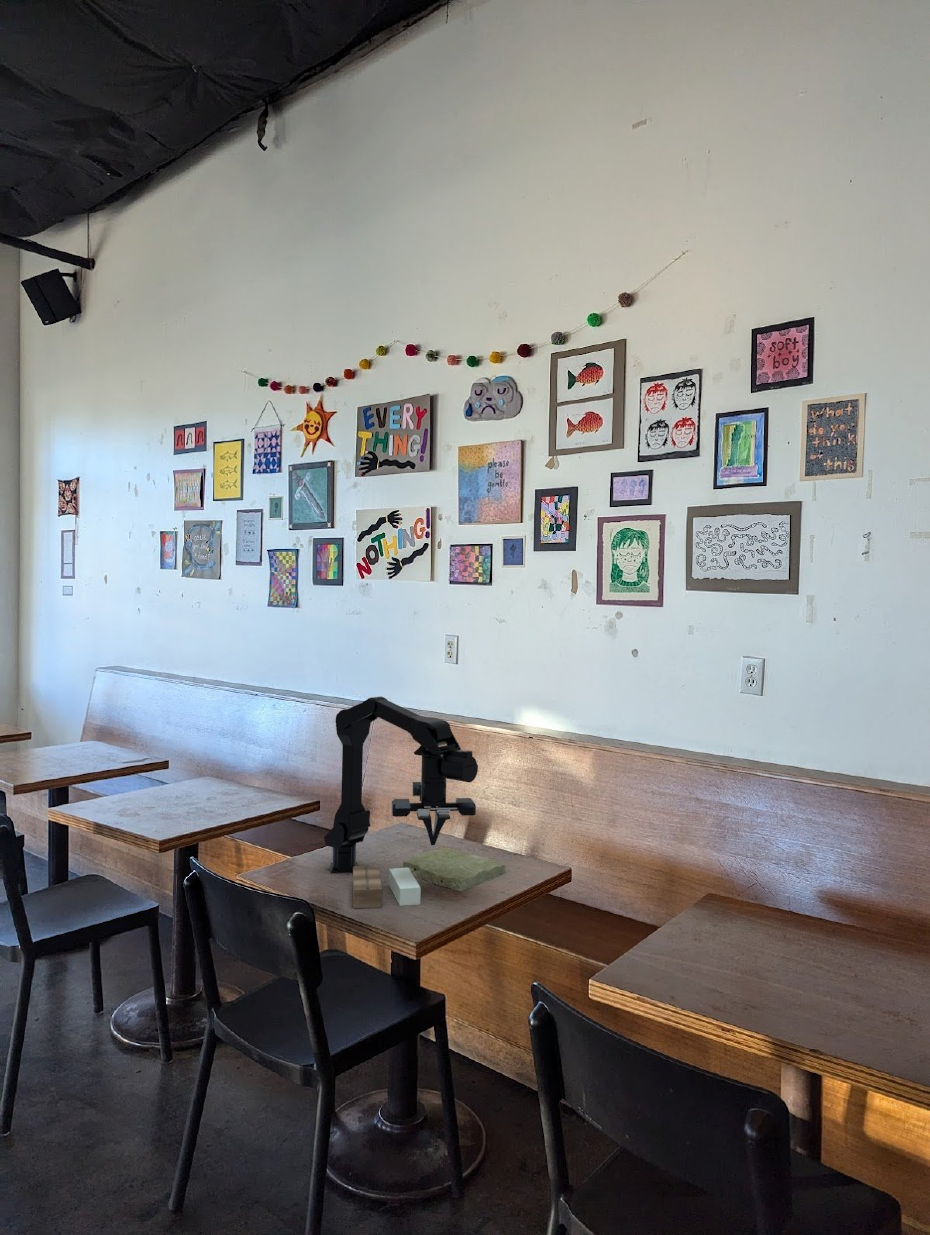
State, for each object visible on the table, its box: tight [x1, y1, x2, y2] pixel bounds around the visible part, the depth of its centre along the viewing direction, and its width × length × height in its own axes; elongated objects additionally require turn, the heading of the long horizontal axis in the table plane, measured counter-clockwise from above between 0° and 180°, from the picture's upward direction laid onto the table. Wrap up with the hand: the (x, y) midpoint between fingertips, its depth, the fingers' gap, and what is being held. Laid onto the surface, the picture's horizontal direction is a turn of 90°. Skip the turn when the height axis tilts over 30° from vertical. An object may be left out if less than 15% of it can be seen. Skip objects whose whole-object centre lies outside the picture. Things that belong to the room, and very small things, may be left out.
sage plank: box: [388, 867, 421, 907], centre depth 194 cm, size 14×4×4 cm, turn 15°
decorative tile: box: [401, 847, 507, 892], centre depth 209 cm, size 19×20×4 cm
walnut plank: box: [352, 865, 383, 909], centre depth 193 cm, size 16×6×4 cm, turn 8°
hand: (432, 845), depth 194 cm, fingers closed
